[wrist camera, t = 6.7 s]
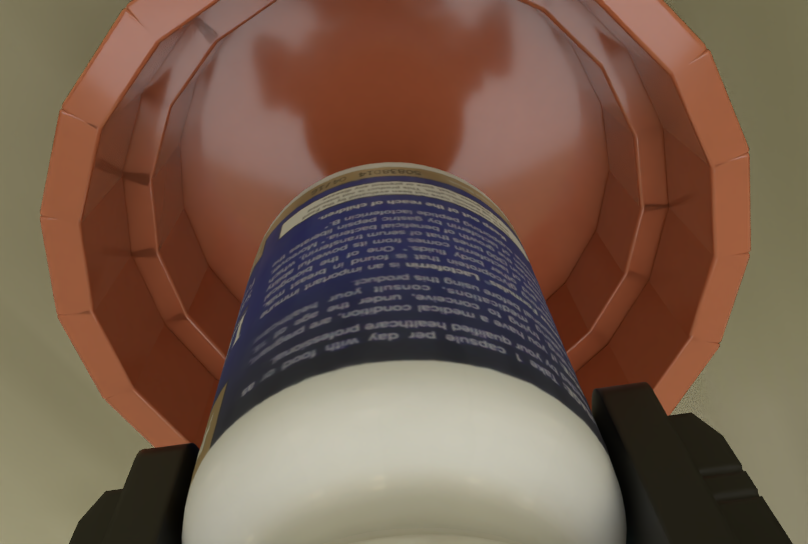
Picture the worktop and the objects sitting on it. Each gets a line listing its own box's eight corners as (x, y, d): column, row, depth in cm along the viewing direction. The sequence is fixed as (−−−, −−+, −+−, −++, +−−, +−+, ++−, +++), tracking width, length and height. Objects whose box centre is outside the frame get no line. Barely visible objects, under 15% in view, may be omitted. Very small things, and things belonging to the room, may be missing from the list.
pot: (85, 308, 22) (-5, 441, 17) (212, -223, 16) (131, -276, 11) (511, 437, 25) (547, 584, 20) (757, 34, 19) (905, 92, 14)
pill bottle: (204, 215, 14) (-42, 726, 6) (473, 109, 14) (667, 509, 5) (323, 421, 17) (280, 987, 8) (554, 341, 16) (776, 872, 8)
